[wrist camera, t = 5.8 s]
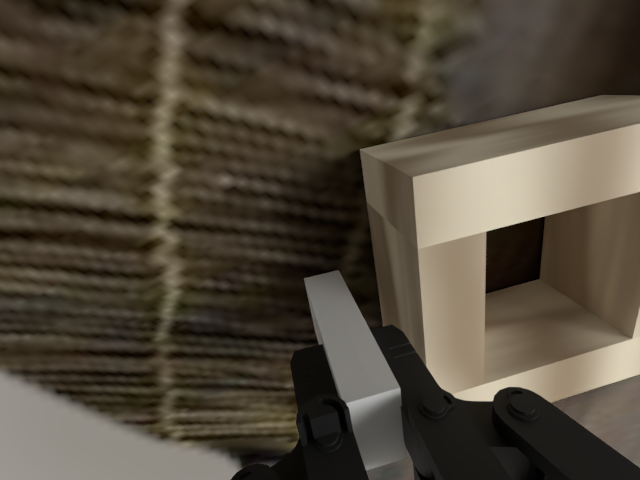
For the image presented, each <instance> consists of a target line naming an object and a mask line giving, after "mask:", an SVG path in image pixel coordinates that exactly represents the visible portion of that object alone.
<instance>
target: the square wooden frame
mask: <svg viewBox="0 0 640 480" xmlns="http://www.w3.org/2000/svg"><path fill="white" fill-rule="evenodd" d="M360 155H361V163H362V171H363V178H364V186H365V193H366V201H367V208H368V216H369V223H370V231H371V239H372V246H373V254H374V261H375V269H376V276H377V284H378V292H379V299H380V307H381V314H382V322H383V327H384V326H388V325H391V324H392V325H394V326H395V327H397V328H398V329H400V330H401V331H403V332H404V334H405V335H406V337H407V338H408V340H409V341H410V343H411V344H412V346H413V347H414V349H415V350H416V353H418V355H419V356H420V358H421V359H422V361H423V362H424V364H425V365H426V367H427V368H428V370H429V372H430V373H431V375H432V376H433V378H434V379H435V381H436V382H437V384H438V385H439V386H440V387H441V389H443V390H445V391H447V392H449V393H451V394H452V395H453V396H454V397H455V398H458V399H461V400H466V401H493V399H494V395H495V394H496V393H497V392H498V391H499V390H501V389H504V388H507V387H521V388H524V389H528V390H531V391H533V392H535V393H536V394H538V395H540V396H542V397H543V398H544V399H546V400H547V401H548V402H550V403H551V402H554V401H557V400H560V399H564V398H567V397H570V396H573V395H576V394H579V393H582V392H585V391H589V390H592V389H595V388H598V387H601V386H604V385H607V384H611V383H614V382H617V381H620V380H623V379H626V378H629V377H633V376H636V375H639V374H640V96H635V95H599V96H595V97H590V98H586V99H582V100H577V101H573V102H568V103H564V104H559V105H555V106H550V107H546V108H541V109H537V110H533V111H528V112H524V113H519V114H515V115H510V116H506V117H501V118H497V119H493V120H488V121H484V122H479V123H475V124H470V125H466V126H461V127H457V128H452V129H448V130H444V131H439V132H435V133H430V134H426V135H421V136H417V137H412V138H408V139H403V140H399V141H395V142H390V143H386V144H381V145H377V146H372V147H368V148H363V149H360ZM544 216H545V224H544V235H543V246H542V257H541V268H540V279H538V280H534V281H530V282H527V283H523V284H520V285H516V286H512V287H509V288H505V289H502V290H498V291H495V292H491V293H487V294H485V281H486V231H490V230H494V229H498V228H502V227H506V226H509V225H513V224H517V223H521V222H525V221H529V220H533V219H536V218H540V217H544Z"/></svg>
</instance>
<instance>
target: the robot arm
mask: <svg viewBox="0 0 640 480" xmlns="http://www.w3.org/2000/svg"><path fill="white" fill-rule="evenodd" d="M304 282H305V286H306V291H307V296H308V301H309V305H310V310H311V315H312V319H313V324H314V329H315V333H316V336H317V339H318V343H319V345H316V346H313V347H309V348H305V349H301V350H298V351H294V354H293V357H292V360H291V363H290V364H291V370H292V376H293V382H294V388H295V394H296V400H297V406H298V413H297V420H296V425H297V428H298V432H299V436H300V438H299V441H298V443H297V445H296V447H295V448H294V449H293V450H292V452H291V453H290V454H289V455H287V456H286V457H285V458H284V459H282V460H281V461H279V462H278V463H276V464H275V465H273V466H272V467H269V466H268V465H264V464H253V465H249V466H246V467H245V468H243V469H242V470H240V471H239V472H237V473H236V474H235V475H234V476H233V478H232V479H231V480H369V479H368V476H367V473H366V470H370V469H373V468H376V467H379V466H383V465H386V464H389V463H392V462H395V461H399V460H402V459H405V458H407V451H406V448H407V450H408V452H409V454H410V456H411V459H412V461H413V467H414V478H415V480H640V468H639V467H638V466H636V465H635V464H633V463H632V462H631V461H629V460H628V459H627V458H625V457H624V456H622V455H621V454H620V453H618V452H617V451H616V450H614V449H613V448H612V447H610V446H609V445H607V444H606V443H605V442H603V441H602V440H601V439H599V438H598V437H596V436H595V435H594V434H592V433H591V432H590V431H588V430H587V429H585V428H584V427H583V426H581V425H580V424H579V423H577V422H576V421H575V420H573V419H572V418H570V417H569V416H568V415H566V414H565V413H564V412H562V411H561V410H559V409H558V408H557V407H555V406H554V405H553V404H551V403H550V402H548V401H547V400H546V399H544V398H543V397H542V396H540V395H538V394H536V393H535V392H533V391H531V390H528V389H524V388H521V387H507V388H504V389H501V390H499V391H498V392H497V393H496V394H495V395H494V399H493V401H466V400H461V399H458V398H455V397H454V396H453V395H452V394H451V393H449V392H447V391H445V390H443V389H441V387H440V386H439V385H438V384H437V382H436V381H435V379H434V378H433V376H432V375H431V373H430V372H429V370H428V368H427V367H426V365H425V364H424V362H423V361H422V359H421V358H420V356H419V355H418V353H416V350H415V349H414V347H413V346H412V344H411V343H410V341H409V340H408V338H407V337H406V335H405V334H404V332H403V331H401V330H400V329H398V328H397V327H395V326H394V325H392V324H391V325H388V326H384V327H380V328H376V329H373V330H370V329H369V327H368V325H367V323H366V321H365V319H364V318H363V316H362V314H361V312H360V310H359V308H358V306H357V304H356V302H355V300H354V298H353V297H352V295H351V293H350V291H349V289H348V287H347V285H346V283H345V281H344V279H343V277H342V276H341V274H340V272H339V270H336V271H332V272H328V273H324V274H320V275H316V276H312V277H308V278H304Z"/></svg>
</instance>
